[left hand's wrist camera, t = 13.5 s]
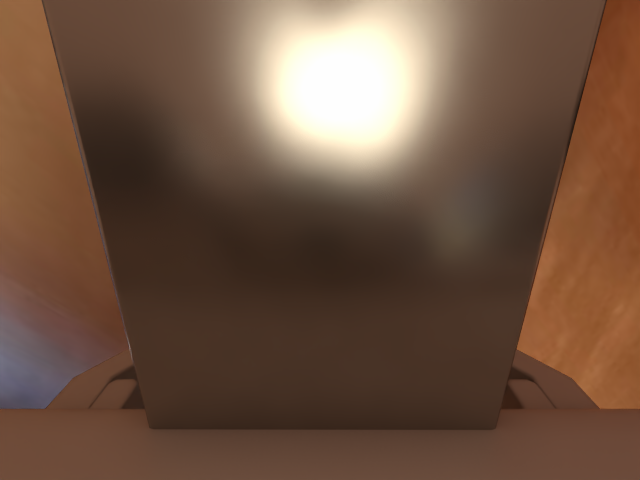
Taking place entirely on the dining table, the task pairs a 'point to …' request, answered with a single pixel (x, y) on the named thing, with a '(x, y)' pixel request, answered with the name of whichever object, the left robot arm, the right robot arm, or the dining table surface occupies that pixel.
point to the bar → (323, 197)
